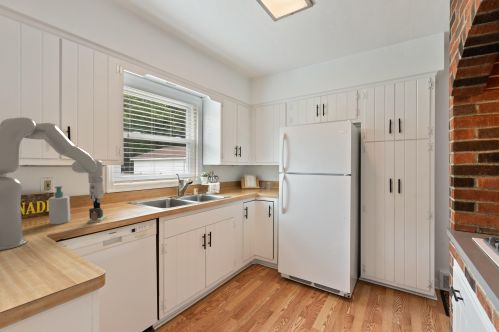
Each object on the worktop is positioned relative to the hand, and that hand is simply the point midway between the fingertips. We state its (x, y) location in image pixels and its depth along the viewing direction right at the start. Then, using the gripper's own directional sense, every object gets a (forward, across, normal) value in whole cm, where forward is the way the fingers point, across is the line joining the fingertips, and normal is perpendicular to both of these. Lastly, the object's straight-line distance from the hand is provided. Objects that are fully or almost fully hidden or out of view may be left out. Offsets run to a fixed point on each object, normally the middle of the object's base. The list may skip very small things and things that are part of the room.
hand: (97, 208), depth 150 cm
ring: (+5, -2, 0) cm, 6 cm away
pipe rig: (+7, 0, 0) cm, 7 cm away
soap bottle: (+7, 0, +20) cm, 22 cm away
